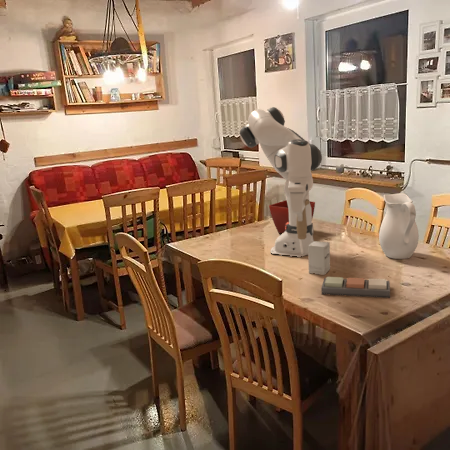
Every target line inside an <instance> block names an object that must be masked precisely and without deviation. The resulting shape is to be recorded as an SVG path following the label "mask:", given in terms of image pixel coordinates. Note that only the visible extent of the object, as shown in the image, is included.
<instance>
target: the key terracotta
mask: <svg viewBox="0 0 450 450" xmlns="http://www.w3.org/2000/svg"><path fill="white" fill-rule="evenodd" d="M346 279H347V283H346V288H364V280H365V277H364V278H363V277H362V278H361V277H347V278H346Z"/></svg>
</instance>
